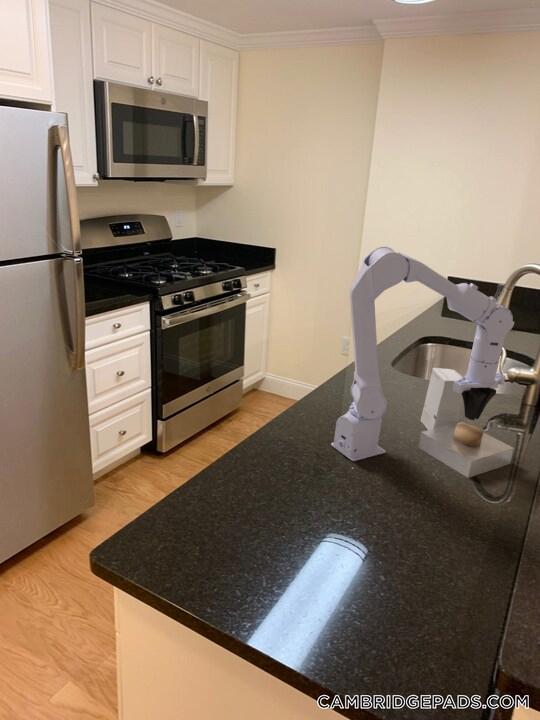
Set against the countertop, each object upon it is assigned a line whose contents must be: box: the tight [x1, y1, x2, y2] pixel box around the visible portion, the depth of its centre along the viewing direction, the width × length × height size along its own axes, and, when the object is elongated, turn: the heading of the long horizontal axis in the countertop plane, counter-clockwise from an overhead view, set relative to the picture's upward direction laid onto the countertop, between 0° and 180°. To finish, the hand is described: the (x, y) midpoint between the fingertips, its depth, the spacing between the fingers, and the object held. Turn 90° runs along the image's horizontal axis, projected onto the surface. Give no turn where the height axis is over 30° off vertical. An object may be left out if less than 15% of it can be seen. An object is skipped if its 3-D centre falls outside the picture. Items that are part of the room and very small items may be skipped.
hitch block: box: [417, 421, 515, 479], centre depth 119 cm, size 14×14×4 cm
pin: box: [454, 423, 484, 446], centre depth 118 cm, size 6×6×6 cm
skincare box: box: [420, 367, 464, 430], centre depth 129 cm, size 8×6×15 cm
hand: (471, 417), depth 116 cm, fingers closed
